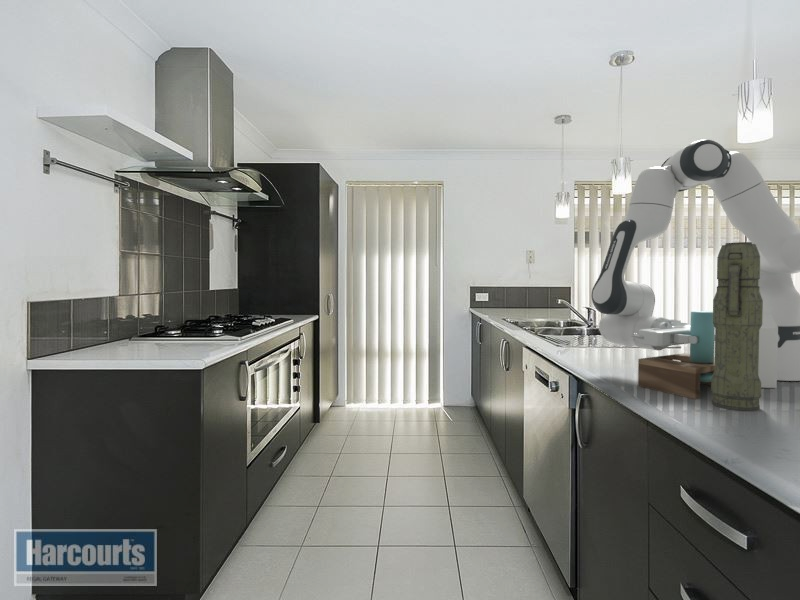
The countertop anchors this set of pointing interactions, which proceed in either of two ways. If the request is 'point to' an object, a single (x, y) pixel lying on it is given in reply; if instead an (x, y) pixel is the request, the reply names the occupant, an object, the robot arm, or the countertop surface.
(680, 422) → the countertop surface
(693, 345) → the teal necked cylinder
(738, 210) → the robot arm
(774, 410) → the countertop surface
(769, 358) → the milk carton
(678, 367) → the keyhole bridge
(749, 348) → the thermos
